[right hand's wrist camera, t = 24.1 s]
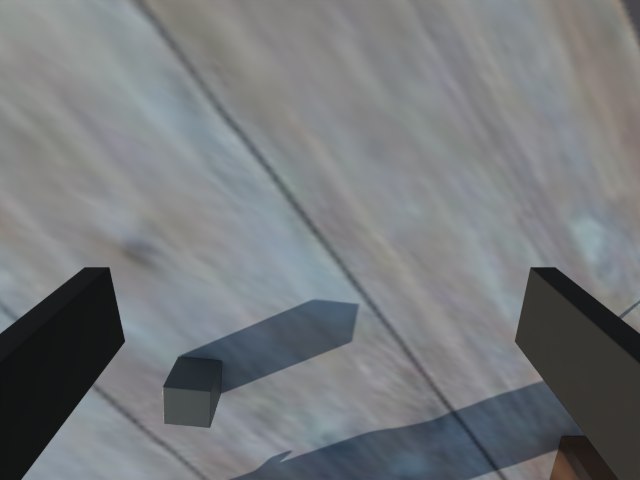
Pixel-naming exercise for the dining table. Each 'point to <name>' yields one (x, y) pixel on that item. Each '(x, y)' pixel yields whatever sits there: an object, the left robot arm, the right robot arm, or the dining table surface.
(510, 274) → the dining table surface
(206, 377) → the slate block
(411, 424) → the dining table surface
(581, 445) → the plank
